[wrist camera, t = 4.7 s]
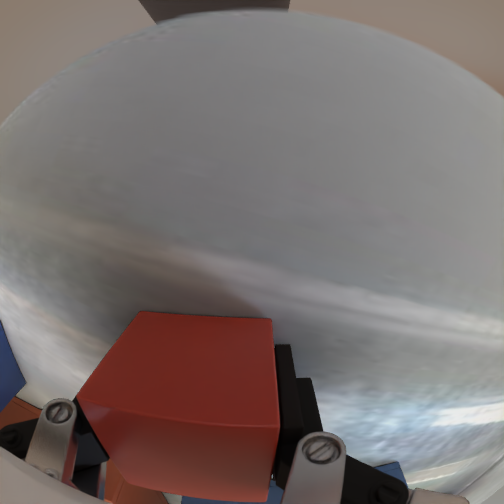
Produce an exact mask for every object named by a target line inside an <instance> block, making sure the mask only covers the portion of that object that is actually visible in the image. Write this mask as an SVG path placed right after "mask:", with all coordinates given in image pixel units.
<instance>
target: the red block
mask: <svg viewBox="0 0 504 504" xmlns="http://www.w3.org/2000/svg"><path fill="white" fill-rule="evenodd" d="M76 398H77V400H78V402H79V404H80V406H81V408H82V410H83V412H84V414H85V416H86V418H87V420H88V421H89V423H90V425H91V427H92V429H93V430H94V432H95V434H96V436H97V437H98V439H99V441H100V442H101V444H102V446H103V447H104V449H105V451H106V452H107V454H108V455H109V457H110V458H111V460H112V461H113V463H114V464H115V466H116V467H117V469H118V470H119V471H120V473H121V474H122V476H123V477H124V478H125V480H126V481H127V482H128V483H130V484H133V485H137V486H140V487H144V488H148V489H152V490H157V491H161V492H166V493H171V494H176V495H182V496H188V497H195V498H202V499H211V500H221V501H235V502H266V501H267V496H268V491H269V487H270V481H271V476H272V471H273V466H274V460H275V455H276V449H277V443H278V437H279V431H280V416H279V403H278V390H277V378H276V366H275V354H274V342H273V330H272V320H271V319H269V318H236V317H214V316H197V315H183V314H170V313H158V312H148V311H140V312H139V313H138V314H137V315H136V317H135V318H134V319H133V320H132V322H131V323H130V324H129V325H128V327H127V328H126V329H125V331H124V332H123V333H122V334H121V336H120V337H119V338H118V340H117V341H116V342H115V343H114V345H113V346H112V347H111V349H110V350H109V351H108V353H107V354H106V355H105V357H104V358H103V359H102V361H101V362H100V363H99V365H98V366H97V367H96V369H95V370H94V371H93V373H92V374H91V375H90V377H89V378H88V380H87V381H86V382H85V384H84V385H83V386H82V388H81V389H80V391H79V392H78V394H77V395H76Z"/></svg>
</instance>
